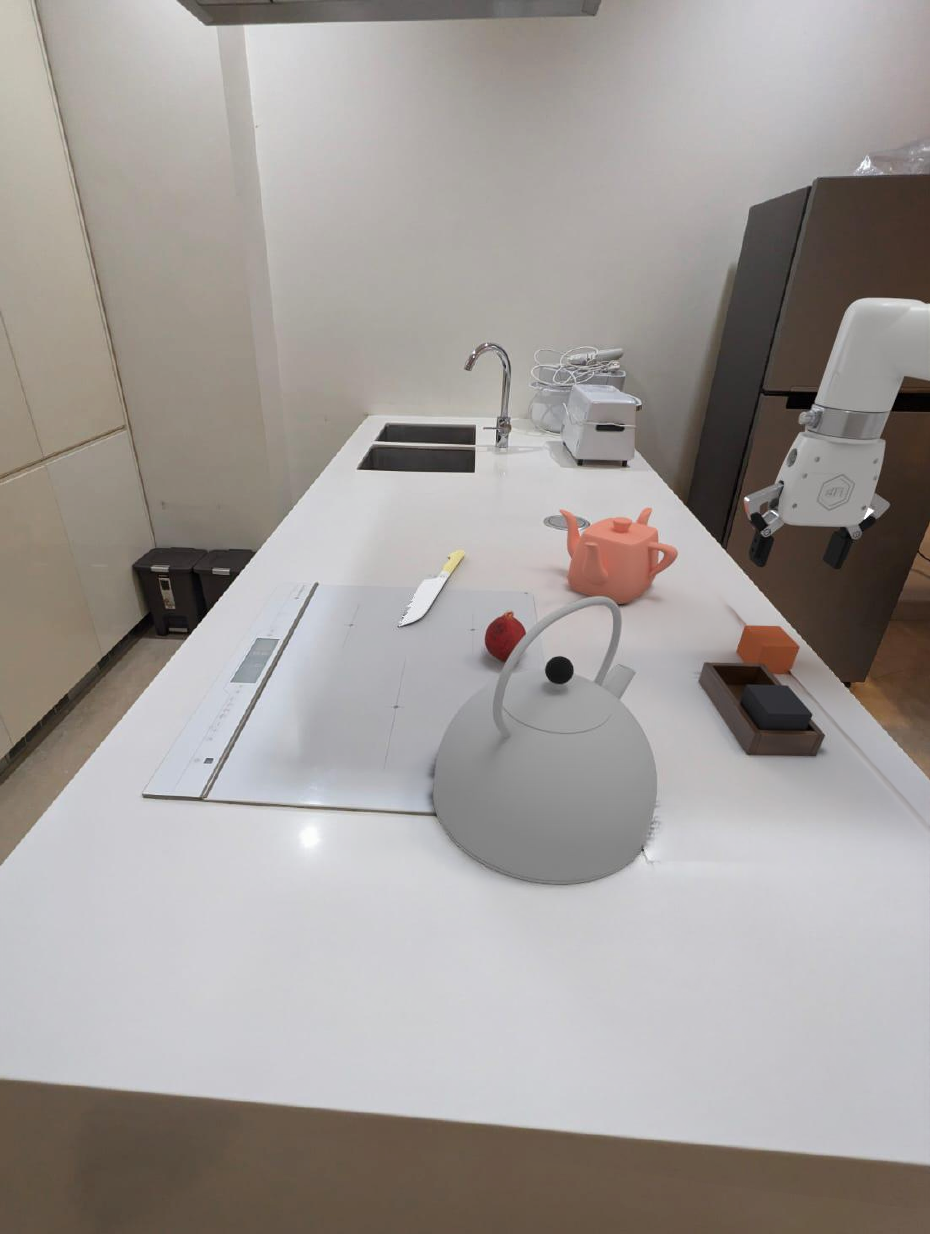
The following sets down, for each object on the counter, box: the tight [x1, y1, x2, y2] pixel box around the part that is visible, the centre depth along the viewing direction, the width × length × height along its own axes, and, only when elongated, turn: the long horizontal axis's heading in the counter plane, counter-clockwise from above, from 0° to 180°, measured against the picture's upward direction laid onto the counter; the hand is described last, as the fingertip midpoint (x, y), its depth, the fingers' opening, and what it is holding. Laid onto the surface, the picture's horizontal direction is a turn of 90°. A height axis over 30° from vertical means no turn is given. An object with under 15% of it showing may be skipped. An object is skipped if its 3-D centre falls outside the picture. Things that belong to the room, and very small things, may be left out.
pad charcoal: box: [740, 684, 814, 731], centre depth 75 cm, size 5×6×5 cm
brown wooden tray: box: [698, 661, 826, 757], centre depth 78 cm, size 8×16×4 cm, turn 0°
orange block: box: [735, 624, 801, 675], centre depth 89 cm, size 5×6×5 cm
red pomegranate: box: [484, 609, 527, 663], centre depth 88 cm, size 6×6×8 cm
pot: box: [558, 507, 679, 605], centre depth 109 cm, size 18×17×12 cm
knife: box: [398, 549, 466, 627], centre depth 111 cm, size 1×33×5 cm
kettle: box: [432, 596, 658, 885], centre depth 61 cm, size 25×23×23 cm
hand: (793, 564), depth 81 cm, fingers open, 9 cm apart
